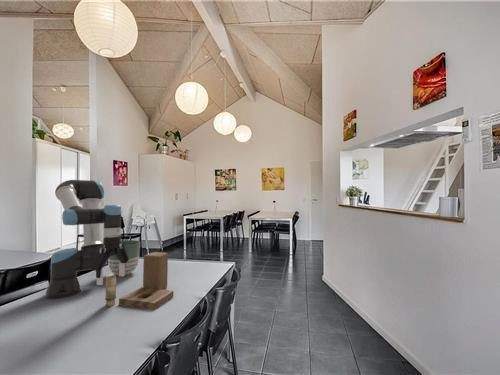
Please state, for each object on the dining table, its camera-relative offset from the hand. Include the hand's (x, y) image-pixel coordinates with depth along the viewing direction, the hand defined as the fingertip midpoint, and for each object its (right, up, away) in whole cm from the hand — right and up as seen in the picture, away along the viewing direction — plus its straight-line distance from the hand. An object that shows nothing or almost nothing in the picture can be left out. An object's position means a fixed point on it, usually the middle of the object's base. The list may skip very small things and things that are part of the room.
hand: (111, 280), depth 123 cm
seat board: (+16, -12, +5) cm, 20 cm away
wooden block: (+14, -13, +21) cm, 28 cm away
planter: (-18, -14, +48) cm, 53 cm away
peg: (0, -12, 0) cm, 12 cm away
